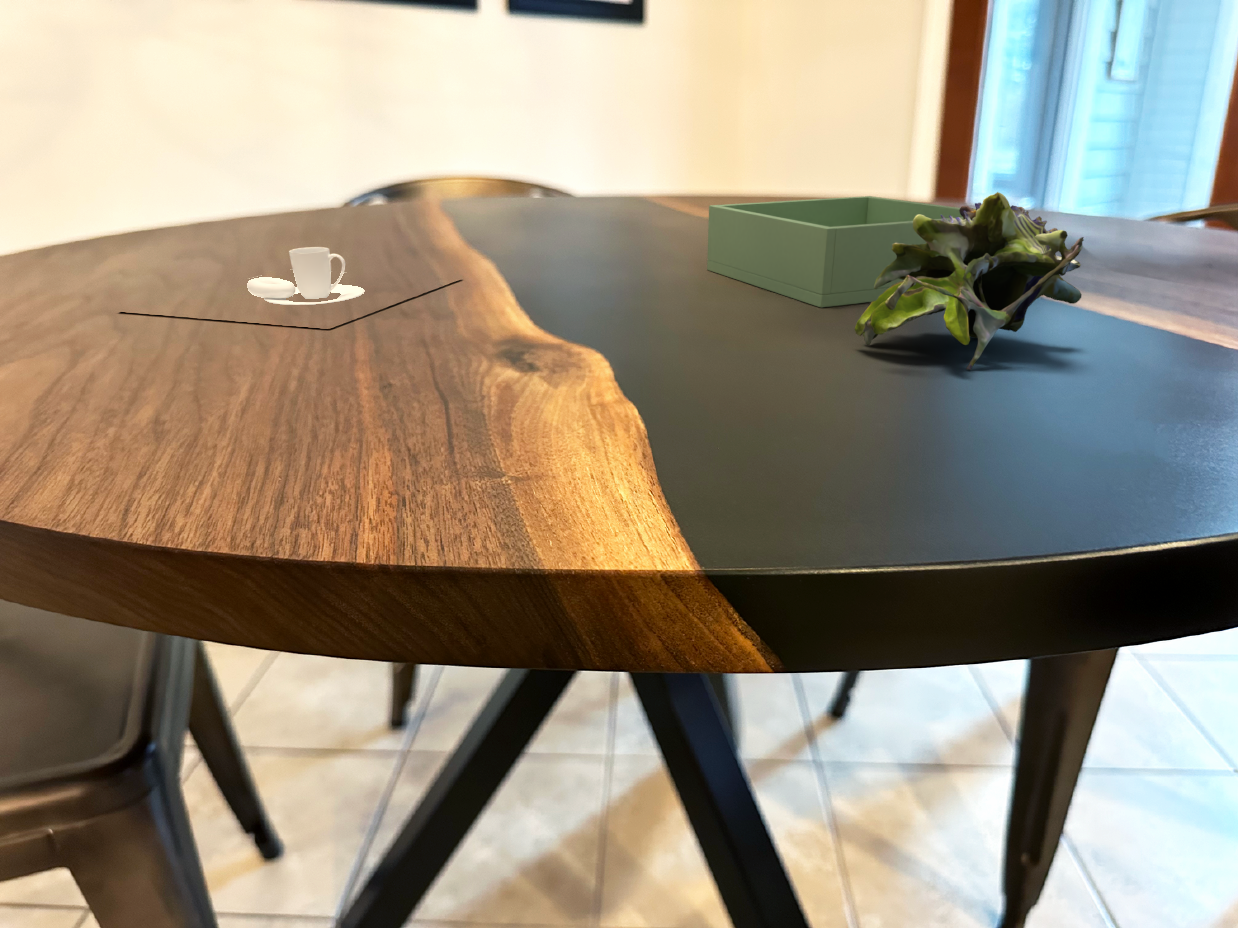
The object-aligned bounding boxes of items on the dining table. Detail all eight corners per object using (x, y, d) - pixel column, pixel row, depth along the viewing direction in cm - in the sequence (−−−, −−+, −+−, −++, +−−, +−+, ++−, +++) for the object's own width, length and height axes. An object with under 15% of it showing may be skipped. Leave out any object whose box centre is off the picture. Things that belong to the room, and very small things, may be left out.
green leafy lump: (960, 415, 58) (1091, 273, 54) (987, 443, 48) (1152, 270, 44) (831, 315, 59) (952, 168, 55) (831, 321, 48) (979, 141, 45)
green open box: (863, 255, 88) (870, 196, 85) (1002, 287, 72) (1014, 214, 69) (706, 269, 81) (708, 205, 79) (820, 307, 65) (827, 228, 63)
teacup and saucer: (235, 306, 68) (225, 255, 66) (299, 287, 75) (291, 241, 73) (326, 313, 65) (318, 260, 63) (384, 293, 72) (378, 245, 70)
